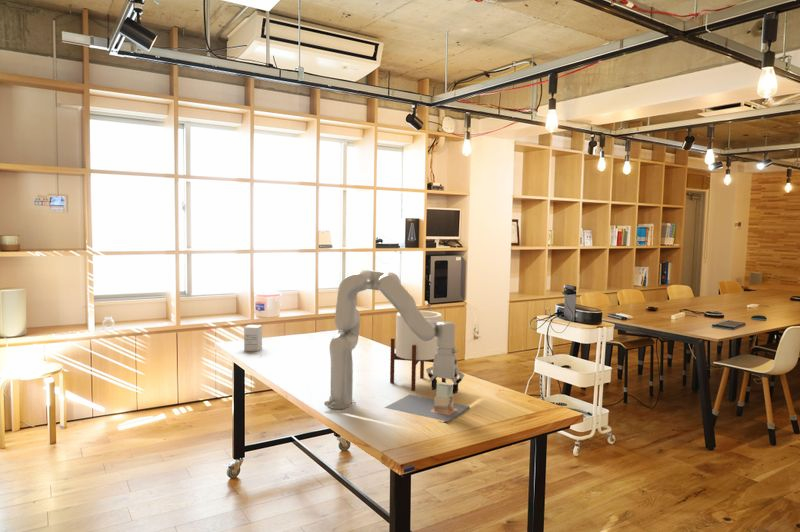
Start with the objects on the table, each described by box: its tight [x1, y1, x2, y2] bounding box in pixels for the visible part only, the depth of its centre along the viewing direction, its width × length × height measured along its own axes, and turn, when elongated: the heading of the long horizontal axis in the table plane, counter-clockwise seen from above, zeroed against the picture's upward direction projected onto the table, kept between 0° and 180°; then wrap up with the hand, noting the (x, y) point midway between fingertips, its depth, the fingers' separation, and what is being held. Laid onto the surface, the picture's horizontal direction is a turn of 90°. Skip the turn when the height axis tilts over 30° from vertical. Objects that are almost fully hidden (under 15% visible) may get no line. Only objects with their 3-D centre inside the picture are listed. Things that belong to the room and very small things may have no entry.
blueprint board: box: [384, 394, 471, 424], centre depth 235 cm, size 22×30×1 cm
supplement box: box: [243, 324, 263, 352], centre depth 342 cm, size 9×9×15 cm
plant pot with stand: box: [389, 309, 447, 392], centre depth 270 cm, size 22×22×36 cm
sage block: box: [435, 381, 454, 399], centre depth 231 cm, size 5×5×5 cm
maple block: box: [434, 394, 455, 413], centre depth 231 cm, size 6×6×6 cm
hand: (444, 391), depth 231 cm, fingers open, 9 cm apart
